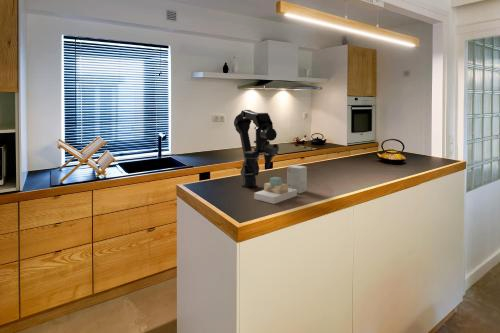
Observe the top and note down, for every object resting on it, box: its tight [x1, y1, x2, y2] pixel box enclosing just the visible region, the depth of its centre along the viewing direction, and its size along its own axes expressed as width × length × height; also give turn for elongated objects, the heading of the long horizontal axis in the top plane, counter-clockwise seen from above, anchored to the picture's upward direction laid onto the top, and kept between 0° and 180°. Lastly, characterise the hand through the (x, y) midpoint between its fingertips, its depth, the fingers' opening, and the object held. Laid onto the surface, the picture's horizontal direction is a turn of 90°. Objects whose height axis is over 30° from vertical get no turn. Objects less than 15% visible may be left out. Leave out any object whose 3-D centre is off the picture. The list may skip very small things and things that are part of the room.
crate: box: [269, 176, 283, 186], centre depth 152 cm, size 4×4×3 cm
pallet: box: [263, 181, 288, 194], centre depth 152 cm, size 10×6×4 cm, turn 47°
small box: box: [286, 164, 308, 194], centre depth 163 cm, size 8×6×13 cm
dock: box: [253, 188, 298, 205], centre depth 153 cm, size 12×18×3 cm
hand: (261, 169), depth 158 cm, fingers open, 9 cm apart
